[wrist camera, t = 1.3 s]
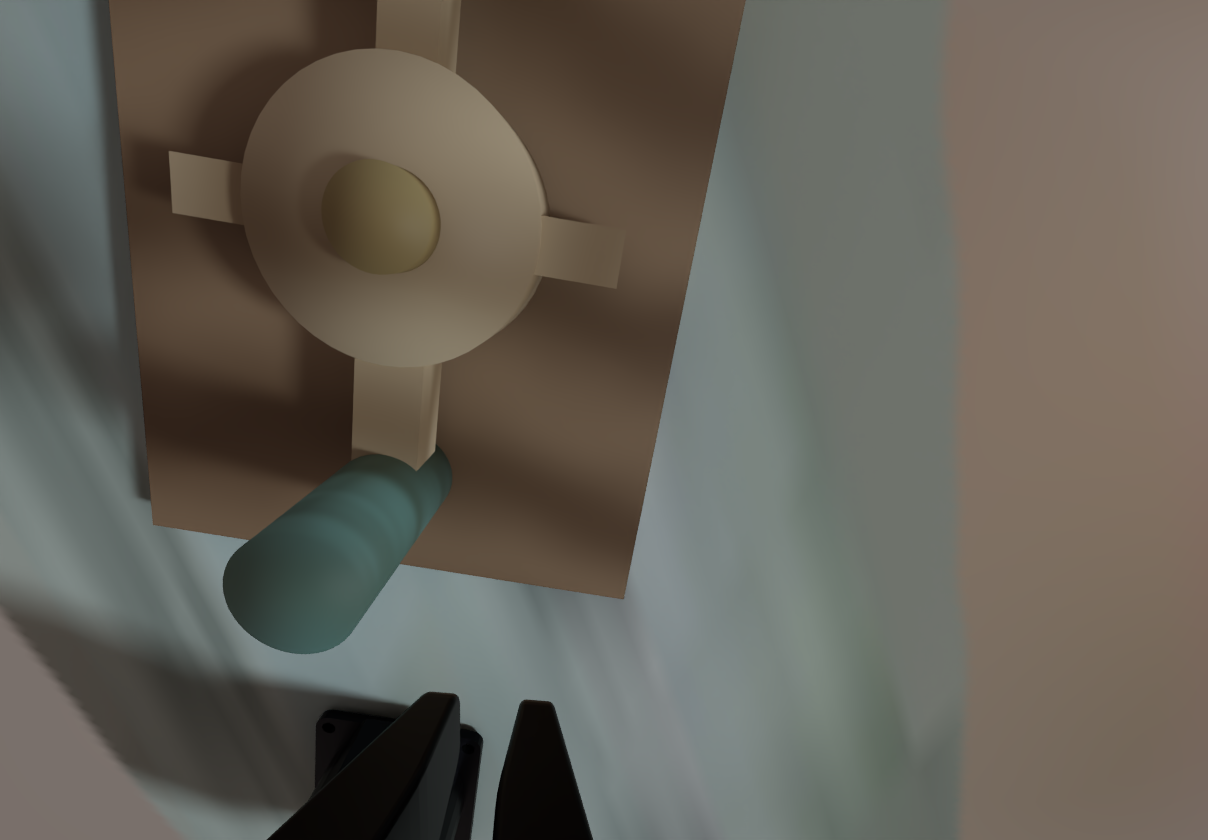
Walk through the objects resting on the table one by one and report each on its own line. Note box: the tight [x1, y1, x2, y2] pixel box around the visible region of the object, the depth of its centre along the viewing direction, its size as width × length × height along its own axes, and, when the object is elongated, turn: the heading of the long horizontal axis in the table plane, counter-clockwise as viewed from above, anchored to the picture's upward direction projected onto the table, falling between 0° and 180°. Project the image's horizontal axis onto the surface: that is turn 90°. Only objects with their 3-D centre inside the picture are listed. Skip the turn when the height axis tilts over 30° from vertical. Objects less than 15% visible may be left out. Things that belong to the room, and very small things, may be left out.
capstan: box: [169, 0, 626, 654], centre depth 13 cm, size 14×11×6 cm
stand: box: [109, 0, 746, 599], centre depth 14 cm, size 20×16×6 cm
